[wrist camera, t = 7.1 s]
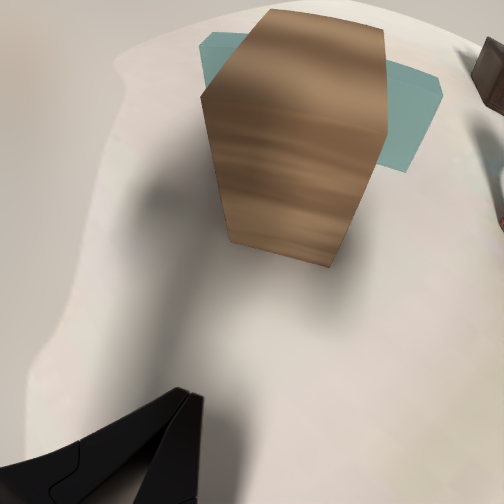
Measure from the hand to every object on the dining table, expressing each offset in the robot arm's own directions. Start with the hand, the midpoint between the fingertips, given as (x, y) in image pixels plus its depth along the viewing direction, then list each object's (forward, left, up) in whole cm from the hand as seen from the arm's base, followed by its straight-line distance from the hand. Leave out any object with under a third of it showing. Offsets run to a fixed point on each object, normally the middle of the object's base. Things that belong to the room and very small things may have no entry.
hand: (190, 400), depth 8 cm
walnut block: (+12, +12, -13) cm, 22 cm away
